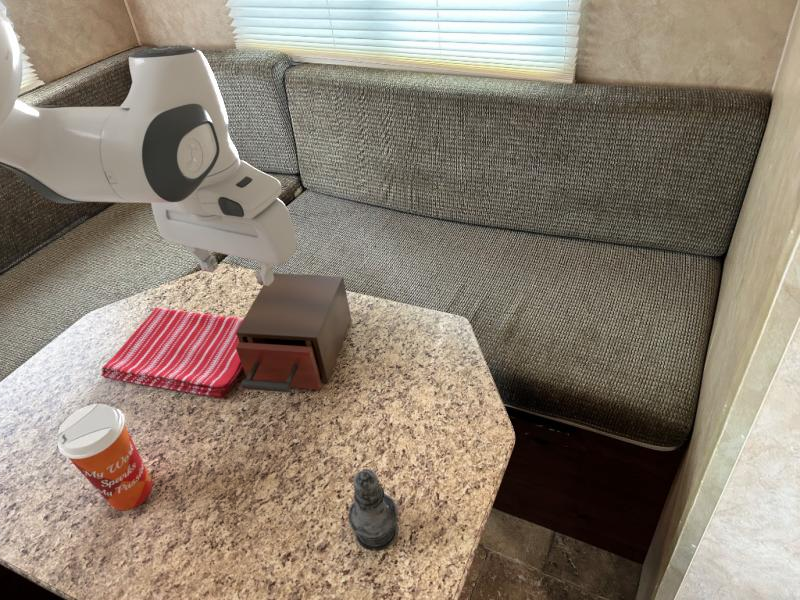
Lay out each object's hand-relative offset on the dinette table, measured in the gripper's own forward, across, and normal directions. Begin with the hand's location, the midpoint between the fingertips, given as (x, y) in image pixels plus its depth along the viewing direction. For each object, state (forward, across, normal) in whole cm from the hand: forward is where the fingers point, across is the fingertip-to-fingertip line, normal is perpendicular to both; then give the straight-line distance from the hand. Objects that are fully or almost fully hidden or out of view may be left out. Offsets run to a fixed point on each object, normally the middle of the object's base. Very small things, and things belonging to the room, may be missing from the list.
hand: (238, 275), depth 82 cm
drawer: (+19, +2, +3) cm, 20 cm away
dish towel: (+20, -17, 0) cm, 27 cm away
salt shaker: (+21, +27, -16) cm, 38 cm away
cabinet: (+20, +1, +8) cm, 22 cm away
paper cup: (+21, -6, -24) cm, 32 cm away
